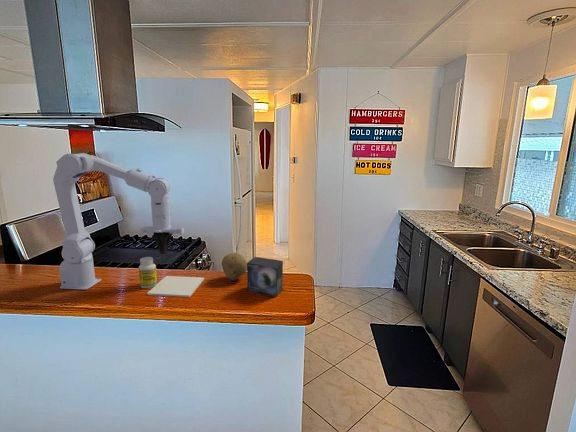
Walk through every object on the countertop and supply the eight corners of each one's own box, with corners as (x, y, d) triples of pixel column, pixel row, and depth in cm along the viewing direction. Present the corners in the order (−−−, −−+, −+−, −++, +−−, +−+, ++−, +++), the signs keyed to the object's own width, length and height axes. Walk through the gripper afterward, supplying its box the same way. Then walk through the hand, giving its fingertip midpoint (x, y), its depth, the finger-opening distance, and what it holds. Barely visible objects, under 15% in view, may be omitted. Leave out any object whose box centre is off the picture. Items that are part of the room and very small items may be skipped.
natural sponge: (245, 273, 121) (245, 248, 119) (249, 283, 112) (249, 256, 110) (221, 275, 118) (220, 250, 116) (223, 285, 110) (222, 258, 108)
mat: (147, 294, 103) (146, 293, 102) (166, 277, 116) (166, 275, 116) (189, 297, 102) (189, 295, 101) (204, 279, 115) (204, 277, 115)
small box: (246, 292, 106) (245, 262, 103) (254, 284, 112) (254, 256, 109) (275, 298, 102) (276, 267, 100) (283, 289, 108) (283, 260, 106)
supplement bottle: (155, 280, 113) (153, 255, 111) (158, 286, 109) (156, 259, 107) (138, 284, 110) (136, 257, 108) (141, 290, 106) (139, 262, 104)
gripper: (133, 216, 104) (137, 256, 107) (176, 218, 103) (179, 258, 106) (145, 212, 111) (148, 249, 114) (185, 213, 110) (187, 251, 113)
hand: (163, 253), depth 111 cm, fingers closed
